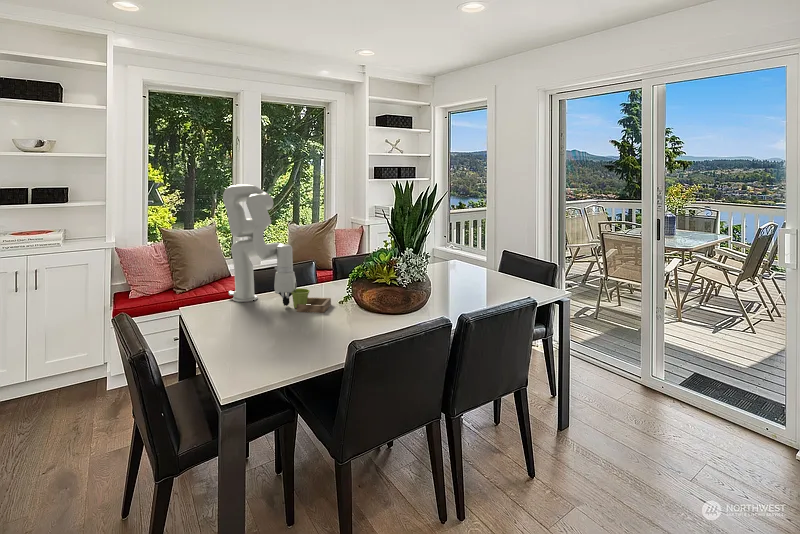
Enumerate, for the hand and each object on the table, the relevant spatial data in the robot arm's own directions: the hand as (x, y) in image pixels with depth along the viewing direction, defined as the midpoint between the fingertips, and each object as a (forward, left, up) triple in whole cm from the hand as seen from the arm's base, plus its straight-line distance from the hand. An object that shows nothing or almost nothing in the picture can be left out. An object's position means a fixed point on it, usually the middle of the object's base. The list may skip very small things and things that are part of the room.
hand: (286, 304), depth 244 cm
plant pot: (+7, 0, -1) cm, 7 cm away
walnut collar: (+14, 0, -1) cm, 14 cm away
